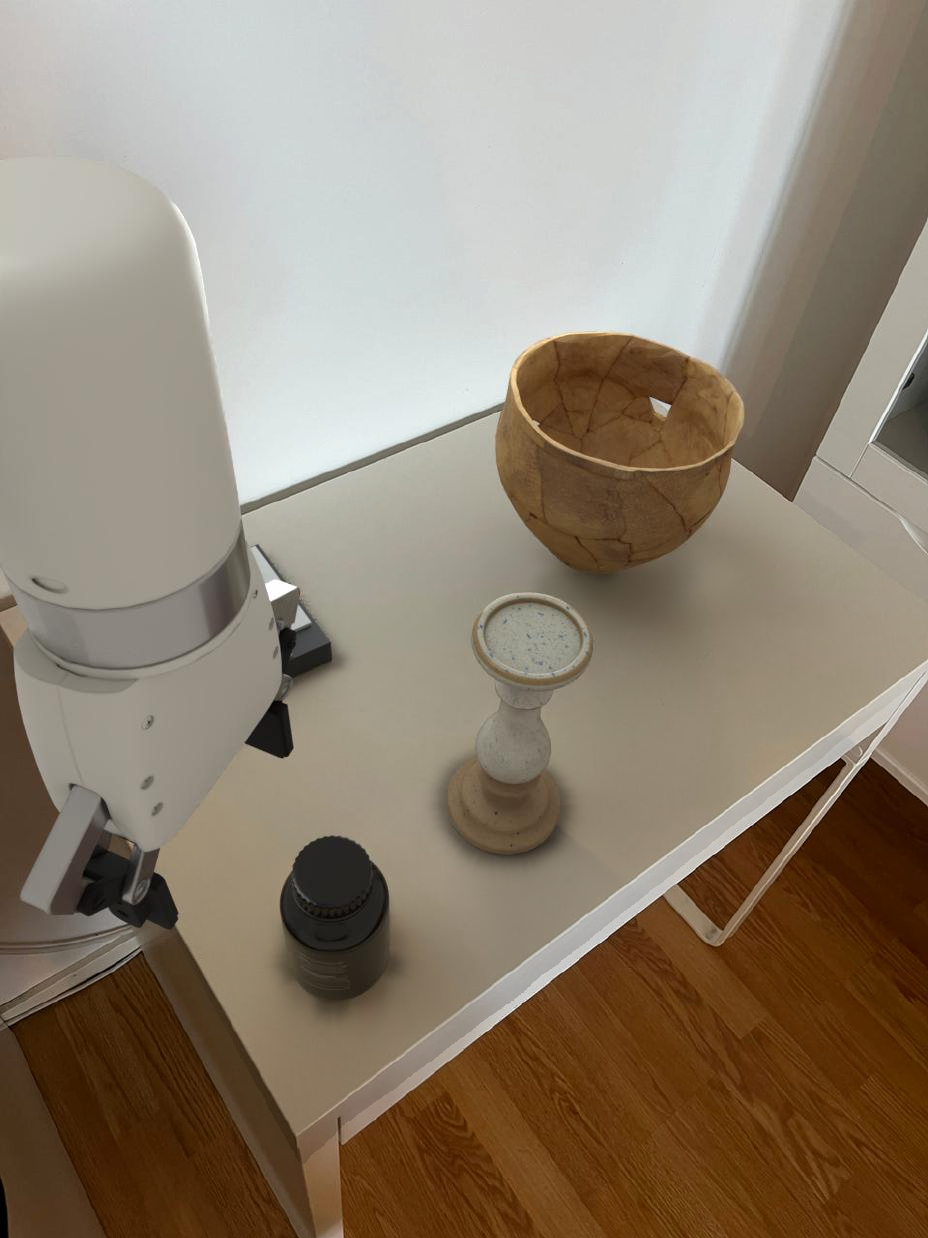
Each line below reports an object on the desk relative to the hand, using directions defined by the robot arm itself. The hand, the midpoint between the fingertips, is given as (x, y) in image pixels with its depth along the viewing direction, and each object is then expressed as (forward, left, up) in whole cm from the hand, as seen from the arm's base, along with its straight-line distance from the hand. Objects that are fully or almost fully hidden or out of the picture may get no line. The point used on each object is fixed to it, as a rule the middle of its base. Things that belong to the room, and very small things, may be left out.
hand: (208, 822), depth 44 cm
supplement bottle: (+6, 0, -24) cm, 24 cm away
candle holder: (+22, +4, -24) cm, 33 cm away
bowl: (+45, +21, -24) cm, 55 cm away
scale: (+12, +30, -24) cm, 40 cm away
